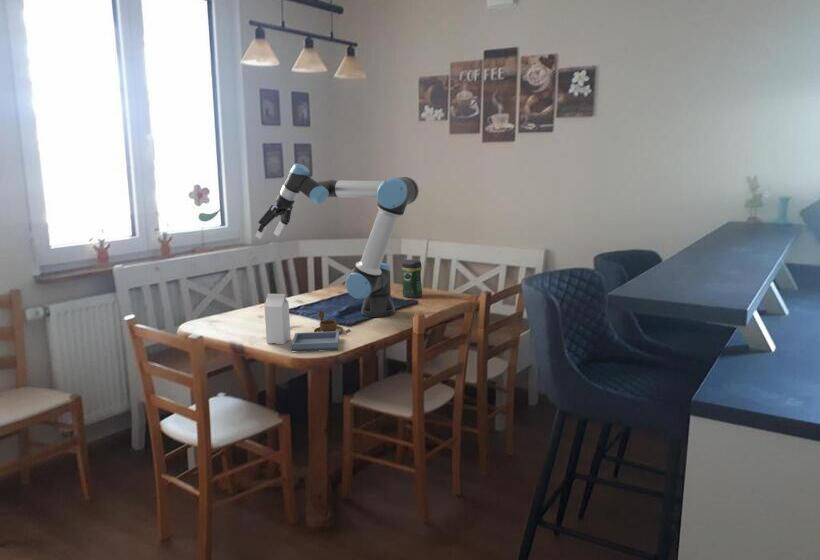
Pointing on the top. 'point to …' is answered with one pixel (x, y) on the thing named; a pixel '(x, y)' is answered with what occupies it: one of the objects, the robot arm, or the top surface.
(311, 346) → the tray
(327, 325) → the brown toy crab
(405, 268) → the coffee jar
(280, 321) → the milk carton
